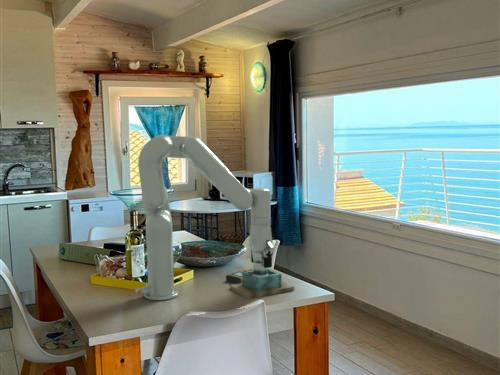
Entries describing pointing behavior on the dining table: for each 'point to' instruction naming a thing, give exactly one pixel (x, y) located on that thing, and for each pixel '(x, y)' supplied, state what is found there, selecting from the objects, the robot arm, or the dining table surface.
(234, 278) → the electronic device
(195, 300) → the dining table surface
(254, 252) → the plastic bottle
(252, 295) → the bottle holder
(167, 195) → the robot arm
